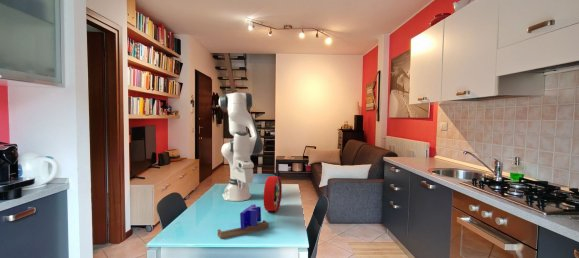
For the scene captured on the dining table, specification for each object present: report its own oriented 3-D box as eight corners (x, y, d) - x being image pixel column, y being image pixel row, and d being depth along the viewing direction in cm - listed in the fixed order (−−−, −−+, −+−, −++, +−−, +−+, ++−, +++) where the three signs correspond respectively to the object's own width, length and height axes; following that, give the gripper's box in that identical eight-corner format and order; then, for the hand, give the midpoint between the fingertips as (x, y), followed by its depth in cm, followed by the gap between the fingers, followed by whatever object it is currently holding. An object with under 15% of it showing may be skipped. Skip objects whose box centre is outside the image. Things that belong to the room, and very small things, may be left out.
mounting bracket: (240, 228, 130) (253, 228, 129) (240, 213, 130) (252, 213, 129) (252, 218, 148) (263, 218, 146) (252, 204, 148) (263, 204, 147)
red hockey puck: (273, 216, 157) (273, 180, 156) (263, 215, 158) (263, 179, 157) (281, 205, 176) (281, 173, 176) (272, 204, 178) (272, 173, 177)
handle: (217, 236, 129) (217, 227, 129) (264, 226, 142) (264, 218, 142) (220, 239, 125) (220, 230, 125) (268, 228, 138) (268, 220, 138)
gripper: (228, 160, 155) (228, 185, 156) (243, 165, 138) (243, 193, 138) (239, 159, 159) (239, 184, 159) (255, 164, 141) (255, 192, 142)
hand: (241, 188), depth 148 cm, fingers closed
